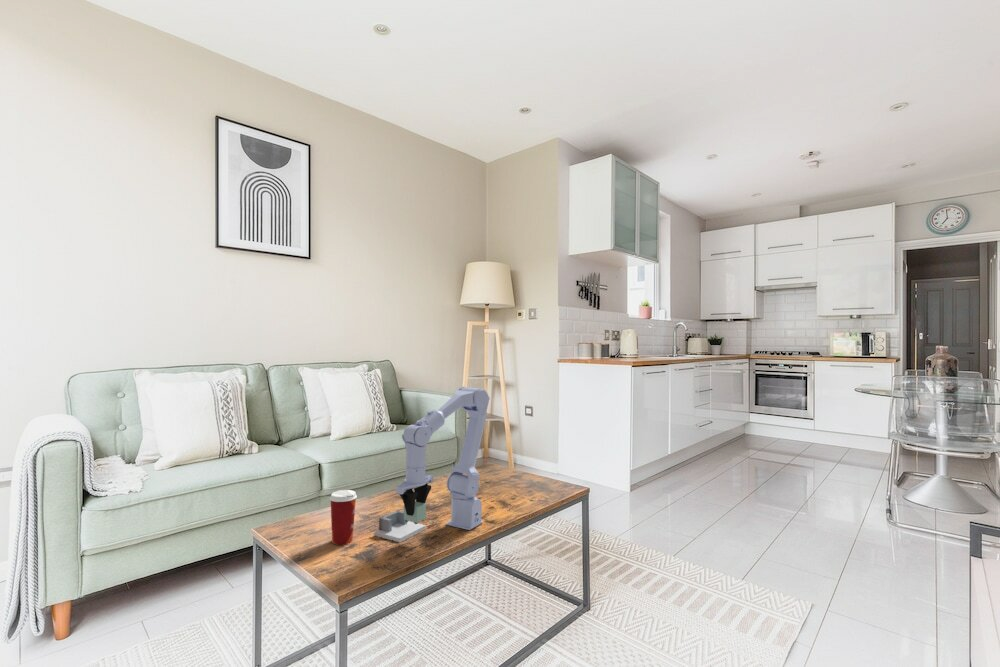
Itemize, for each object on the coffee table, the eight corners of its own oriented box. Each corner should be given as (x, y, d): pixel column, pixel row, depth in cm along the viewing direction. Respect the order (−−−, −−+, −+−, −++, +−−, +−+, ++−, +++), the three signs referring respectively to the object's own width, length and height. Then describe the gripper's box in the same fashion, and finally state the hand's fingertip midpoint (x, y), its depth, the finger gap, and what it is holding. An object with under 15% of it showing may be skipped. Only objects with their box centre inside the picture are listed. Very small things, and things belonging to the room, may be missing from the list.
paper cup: (361, 541, 140) (362, 493, 140) (337, 549, 134) (338, 498, 134) (347, 534, 145) (348, 487, 145) (323, 541, 139) (324, 493, 140)
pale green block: (425, 520, 141) (426, 503, 141) (417, 524, 137) (417, 507, 138) (412, 517, 143) (412, 500, 143) (403, 521, 140) (404, 504, 140)
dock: (425, 529, 149) (426, 514, 150) (399, 542, 139) (400, 526, 139) (401, 523, 154) (401, 508, 154) (374, 535, 144) (374, 519, 144)
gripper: (420, 459, 149) (420, 503, 149) (388, 469, 137) (387, 517, 136) (438, 462, 146) (438, 507, 145) (407, 472, 133) (406, 522, 133)
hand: (415, 512), depth 140 cm, fingers closed on pale green block, 4 cm apart
